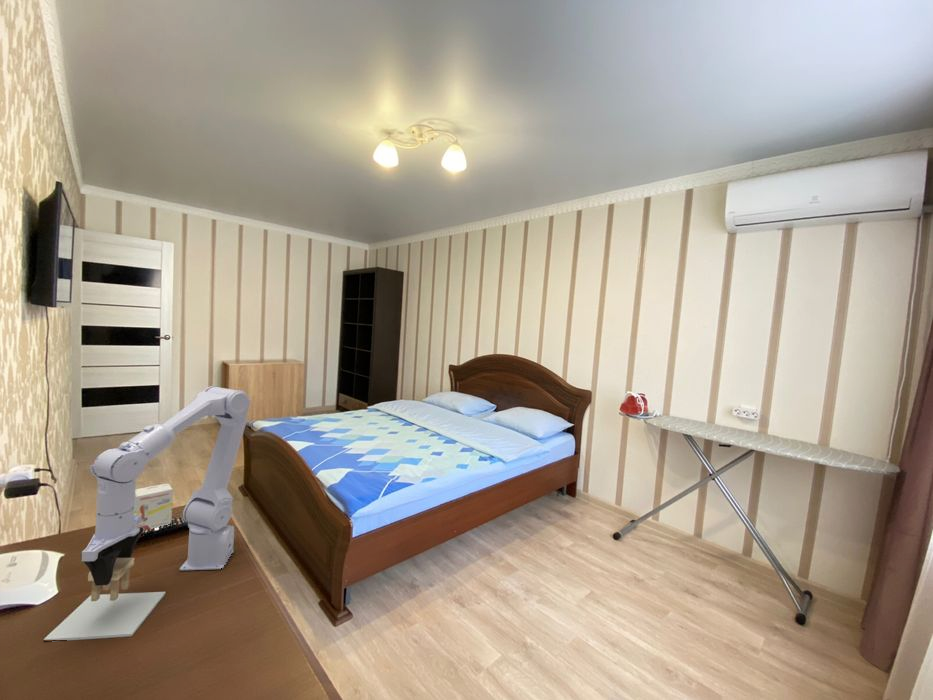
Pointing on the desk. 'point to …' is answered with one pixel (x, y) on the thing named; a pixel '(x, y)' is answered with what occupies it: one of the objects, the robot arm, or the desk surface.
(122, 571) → the birch stool
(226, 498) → the robot arm
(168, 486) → the ink box
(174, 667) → the desk surface
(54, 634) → the light grey mat
